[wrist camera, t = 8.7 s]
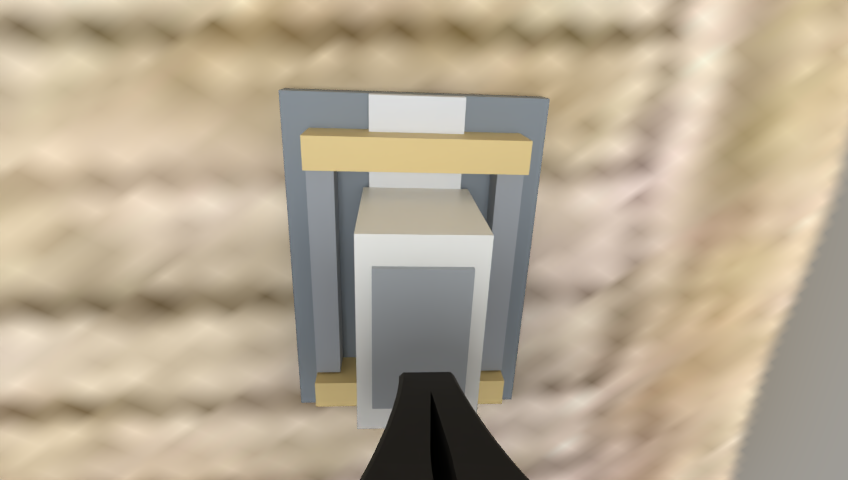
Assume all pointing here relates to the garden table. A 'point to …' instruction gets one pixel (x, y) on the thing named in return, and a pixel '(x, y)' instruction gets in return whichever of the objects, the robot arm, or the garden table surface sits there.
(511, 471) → the robot arm
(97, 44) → the garden table surface
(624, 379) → the garden table surface
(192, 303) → the garden table surface
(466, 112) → the rail base
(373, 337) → the block
